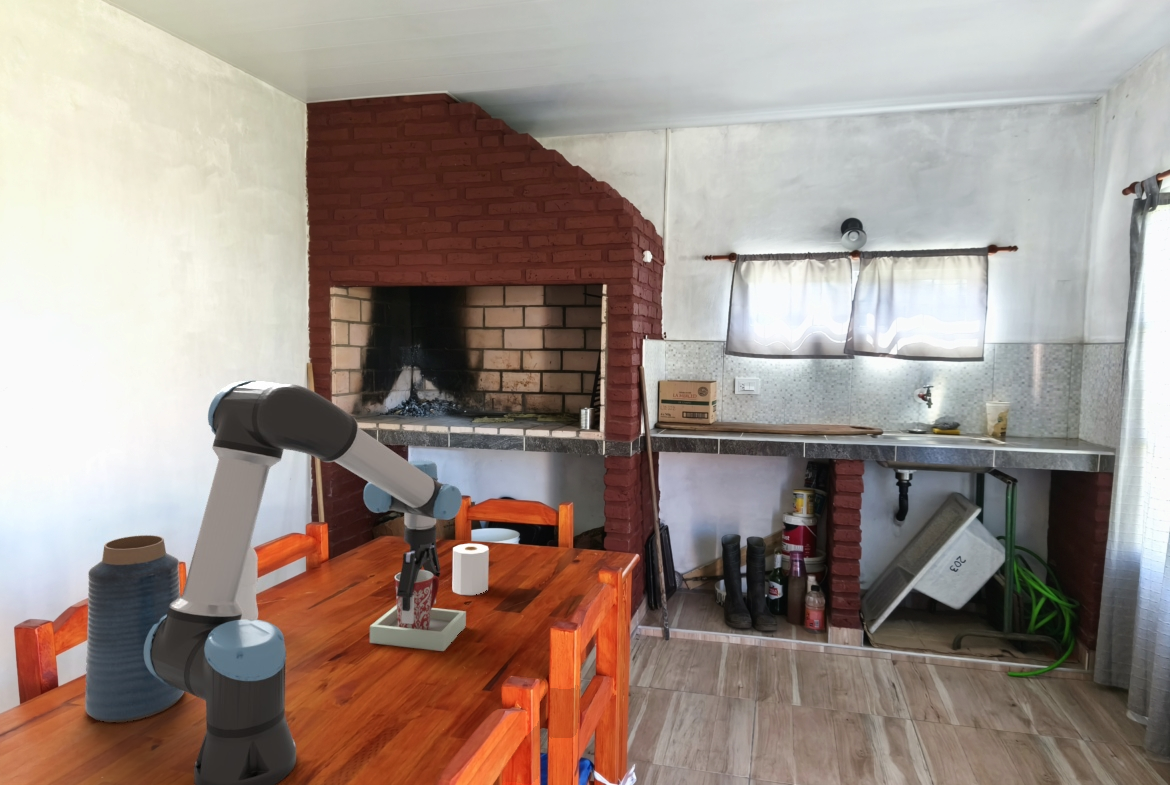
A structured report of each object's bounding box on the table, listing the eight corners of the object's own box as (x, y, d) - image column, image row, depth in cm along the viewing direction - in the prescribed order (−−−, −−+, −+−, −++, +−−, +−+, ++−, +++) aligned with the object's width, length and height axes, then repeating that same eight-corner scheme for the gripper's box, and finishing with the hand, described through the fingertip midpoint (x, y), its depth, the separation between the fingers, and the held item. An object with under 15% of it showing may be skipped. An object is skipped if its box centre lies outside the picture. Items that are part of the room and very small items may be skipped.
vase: (70, 730, 126) (66, 557, 124) (104, 686, 142) (101, 532, 140) (172, 719, 131) (170, 552, 129) (194, 678, 147) (193, 528, 144)
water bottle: (218, 629, 171) (218, 528, 169) (245, 619, 177) (244, 521, 176) (238, 636, 168) (237, 532, 166) (264, 625, 174) (264, 525, 172)
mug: (413, 641, 164) (414, 584, 163) (385, 632, 168) (386, 576, 167) (450, 624, 174) (451, 570, 173) (423, 615, 179) (424, 563, 178)
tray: (443, 651, 163) (443, 634, 162) (369, 642, 166) (369, 626, 166) (465, 626, 177) (465, 611, 177) (397, 619, 180) (397, 604, 180)
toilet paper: (482, 597, 198) (482, 554, 197) (446, 593, 200) (447, 551, 199) (492, 585, 208) (493, 544, 207) (458, 582, 210) (459, 542, 209)
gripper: (413, 540, 157) (412, 634, 158) (454, 514, 181) (452, 596, 182) (382, 537, 158) (381, 630, 160) (426, 512, 182) (425, 593, 184)
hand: (419, 612), depth 171 cm, fingers open, 12 cm apart
